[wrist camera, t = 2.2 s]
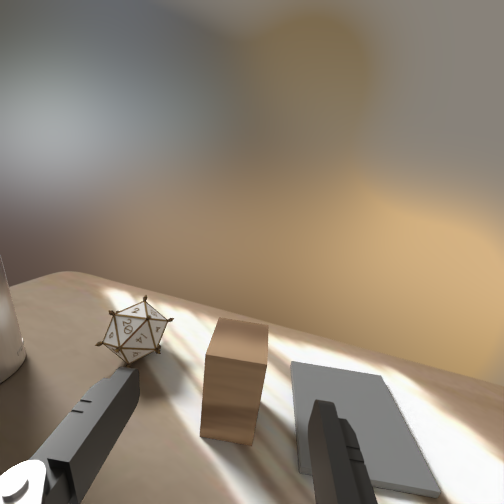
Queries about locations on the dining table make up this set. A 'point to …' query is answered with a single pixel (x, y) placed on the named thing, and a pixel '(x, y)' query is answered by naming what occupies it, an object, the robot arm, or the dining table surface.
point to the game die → (135, 332)
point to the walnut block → (234, 380)
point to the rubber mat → (362, 426)
